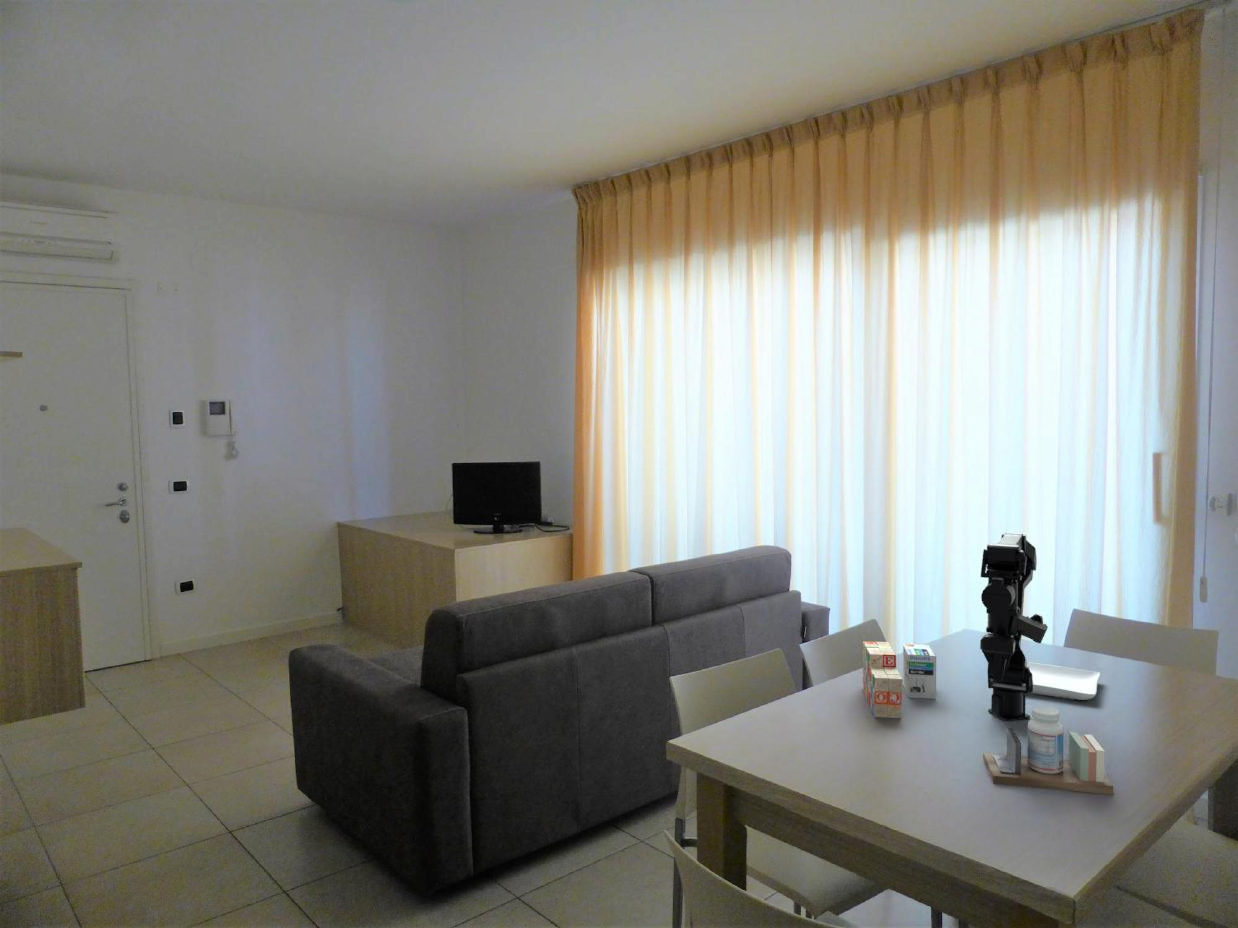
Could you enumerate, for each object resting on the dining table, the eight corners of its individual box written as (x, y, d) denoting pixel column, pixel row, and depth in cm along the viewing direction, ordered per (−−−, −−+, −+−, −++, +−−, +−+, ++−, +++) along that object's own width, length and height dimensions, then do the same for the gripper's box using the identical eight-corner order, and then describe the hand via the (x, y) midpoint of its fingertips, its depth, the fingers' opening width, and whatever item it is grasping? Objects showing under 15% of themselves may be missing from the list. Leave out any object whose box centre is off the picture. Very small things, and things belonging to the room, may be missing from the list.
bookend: (992, 756, 165) (993, 726, 164) (1012, 757, 164) (1012, 727, 164) (1000, 772, 157) (1001, 741, 157) (1020, 774, 156) (1021, 743, 156)
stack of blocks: (902, 719, 190) (902, 665, 190) (873, 717, 191) (874, 664, 191) (888, 689, 211) (888, 641, 211) (862, 688, 212) (862, 640, 212)
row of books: (1068, 762, 161) (1069, 732, 161) (1091, 764, 160) (1091, 733, 160) (1080, 779, 154) (1080, 747, 153) (1104, 782, 153) (1104, 749, 152)
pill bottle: (1046, 760, 163) (1047, 703, 162) (1070, 772, 157) (1071, 713, 156) (1019, 763, 161) (1020, 706, 161) (1043, 776, 155) (1044, 716, 155)
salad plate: (1100, 683, 215) (1100, 670, 215) (1095, 707, 197) (1095, 693, 197) (1010, 670, 227) (1010, 658, 226) (997, 692, 209) (997, 679, 209)
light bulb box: (936, 699, 203) (937, 655, 202) (907, 698, 204) (908, 654, 204) (929, 686, 213) (930, 644, 213) (902, 684, 215) (902, 642, 214)
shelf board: (983, 760, 167) (983, 752, 167) (1094, 769, 162) (1094, 761, 162) (993, 783, 156) (993, 775, 156) (1113, 794, 151) (1113, 786, 151)
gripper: (1041, 616, 166) (1039, 693, 167) (1048, 598, 182) (1047, 669, 183) (980, 609, 172) (979, 685, 173) (993, 593, 188) (992, 662, 189)
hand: (1001, 675), depth 179 cm, fingers open, 9 cm apart
